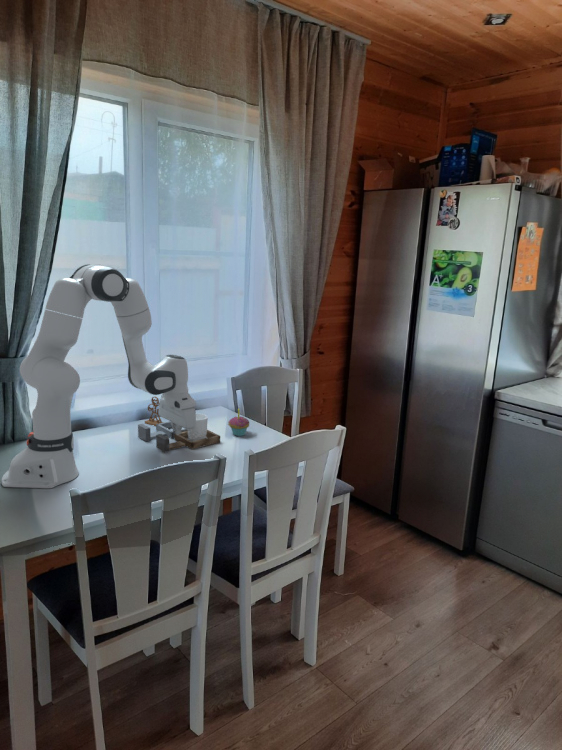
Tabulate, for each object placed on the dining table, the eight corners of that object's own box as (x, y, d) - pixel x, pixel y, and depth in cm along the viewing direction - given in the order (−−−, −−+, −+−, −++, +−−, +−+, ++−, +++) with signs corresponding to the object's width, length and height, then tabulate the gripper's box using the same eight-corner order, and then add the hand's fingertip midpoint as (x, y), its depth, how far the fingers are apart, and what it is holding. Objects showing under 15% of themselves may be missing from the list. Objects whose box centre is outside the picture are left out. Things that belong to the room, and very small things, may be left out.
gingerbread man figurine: (144, 423, 232) (143, 395, 229) (150, 421, 235) (150, 393, 232) (160, 427, 227) (159, 399, 224) (166, 425, 231) (166, 397, 228)
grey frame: (149, 443, 209) (149, 431, 208) (134, 434, 217) (134, 422, 216) (199, 431, 223) (199, 420, 222) (183, 424, 232) (183, 412, 231)
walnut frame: (169, 454, 199) (168, 441, 198) (152, 445, 207) (152, 432, 206) (220, 442, 213) (220, 429, 212) (202, 433, 222) (202, 421, 221)
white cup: (197, 446, 208) (197, 421, 206) (182, 441, 213) (182, 417, 210) (211, 441, 214) (212, 416, 212) (197, 436, 219) (197, 412, 217)
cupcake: (248, 438, 220) (249, 409, 217) (226, 437, 220) (227, 408, 217) (249, 430, 228) (250, 403, 225) (229, 429, 228) (229, 402, 225)
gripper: (154, 393, 208) (155, 427, 212) (183, 406, 194) (184, 443, 197) (169, 390, 213) (169, 424, 216) (198, 403, 198) (199, 439, 201)
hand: (176, 433), depth 207 cm, fingers closed
